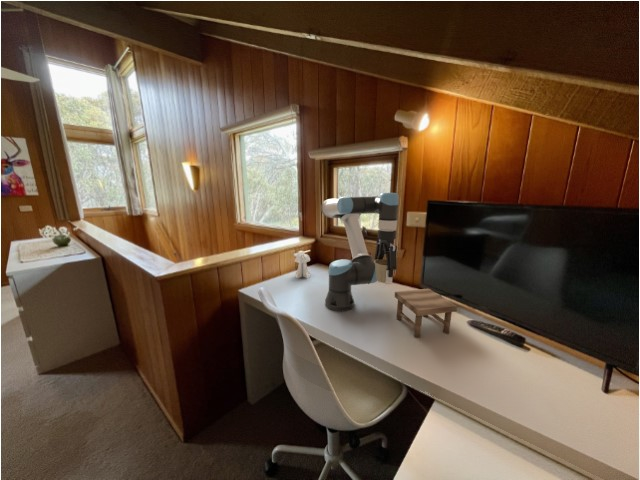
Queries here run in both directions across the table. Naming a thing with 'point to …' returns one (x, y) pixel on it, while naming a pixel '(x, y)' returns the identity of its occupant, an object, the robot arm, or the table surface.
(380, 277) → the flower pot
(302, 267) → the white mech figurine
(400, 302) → the walnut stool
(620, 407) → the table surface
